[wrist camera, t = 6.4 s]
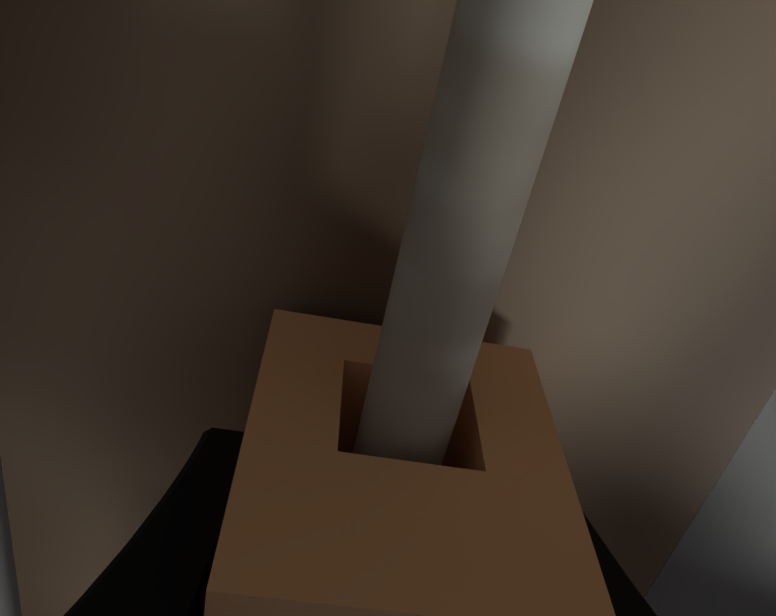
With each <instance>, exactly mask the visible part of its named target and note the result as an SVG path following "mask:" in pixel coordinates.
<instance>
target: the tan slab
mask: <svg viewBox="0 0 776 616" xmlns="http://www.w3.org/2000/svg"><path fill="white" fill-rule="evenodd" d="M274 309H278V310H284V311H290V312H297V313H303V314H309V315H316V316H322V317H328V318H335V319H341V320H347V321H354V322H360V323H366V324H373V325H379V326H382V328H381V333H380V337H379V341H378V346H377V350H376V354H375V359H374V363H373V367H372V372H371V376H370V380H369V385H368V389H367V393H366V398H365V402H364V406H363V411H362V415H361V419H360V424H359V428H358V432H357V437H356V441H355V445H354V450H353V453H354V454H361V455H368V456H375V457H383V458H390V459H397V460H405V461H412V462H419V463H427V464H434V465H441V466H442V463H443V459H444V456H445V453H446V450H447V447H448V444H449V441H450V438H451V435H452V432H453V429H454V426H455V423H456V420H457V417H458V414H459V411H460V407H461V404H462V401H463V398H464V395H465V392H466V389H467V386H468V383H469V380H470V377H471V374H472V371H473V368H474V365H475V362H476V359H477V356H478V352H479V349H480V346H481V343H482V342H486V343H493V344H499V345H505V346H511V347H518V348H524V349H530V350H531V352H532V355H533V358H534V361H535V364H536V368H537V371H538V374H539V377H540V380H541V383H542V386H543V389H544V393H545V396H546V399H547V402H548V405H549V408H550V411H551V415H552V418H553V421H554V424H555V427H556V430H557V433H558V437H559V440H560V443H561V446H562V449H563V452H564V455H565V458H566V462H567V465H568V468H569V471H570V474H571V477H572V480H573V484H574V487H575V490H576V493H577V496H578V499H579V502H580V505H581V509H582V511H583V512H584V514H585V515H586V517H587V518H588V520H589V521H590V523H591V524H592V526H593V527H594V529H595V530H596V532H597V533H598V534H599V536H600V537H601V539H602V540H603V542H604V543H605V545H606V546H607V548H608V549H609V550H610V552H611V553H612V555H613V556H614V558H615V559H616V560H617V562H618V563H619V565H620V566H621V568H622V569H623V570H624V572H625V573H626V575H627V576H628V577H629V579H630V580H631V582H632V583H633V584H634V586H635V587H636V588H637V590H638V591H639V592H640V594H641V595H642V597H643V598H644V597H645V596H646V594H647V592H648V591H649V589H650V588H651V586H652V584H653V583H654V581H655V580H656V578H657V576H658V575H659V573H660V572H661V570H662V568H663V567H664V565H665V564H666V562H667V560H668V559H669V557H670V556H671V554H672V552H673V551H674V549H675V548H676V546H677V544H678V543H679V541H680V540H681V538H682V537H683V535H684V533H685V532H686V530H687V529H688V527H689V525H690V524H691V522H692V521H693V519H694V517H695V516H696V514H697V513H698V511H699V509H700V508H701V506H702V505H703V503H704V501H705V500H706V498H707V497H708V495H709V493H710V492H711V490H712V489H713V487H714V485H715V484H716V482H717V481H718V479H719V477H720V476H721V474H722V473H723V471H724V470H725V468H726V466H727V465H728V463H729V462H730V460H731V458H732V457H733V455H734V454H735V452H736V450H737V449H738V447H739V446H740V444H741V442H742V441H743V439H744V438H745V436H746V434H747V433H748V431H749V430H750V428H751V426H752V425H753V423H754V422H755V420H756V418H757V417H758V415H759V414H760V412H761V411H762V409H763V407H764V406H765V404H766V403H767V401H768V399H769V398H770V396H771V395H772V393H773V391H774V390H775V388H776V0H0V458H1V466H2V473H3V481H4V488H5V495H6V503H7V510H8V518H9V525H10V532H11V540H12V547H13V555H14V562H15V569H16V577H17V584H18V592H19V599H20V606H21V614H22V616H64V614H65V613H66V612H67V611H68V610H69V609H70V608H71V607H72V606H73V605H74V604H75V603H76V602H77V600H78V599H79V598H80V597H81V596H82V595H83V594H84V593H85V591H86V590H87V589H88V588H89V587H90V586H91V584H92V583H93V582H94V581H95V580H96V579H97V578H98V576H99V575H100V574H101V573H102V572H103V571H104V569H105V568H106V567H107V566H108V565H109V564H110V562H111V561H112V560H113V559H114V558H115V557H116V556H117V554H118V553H119V552H120V551H121V550H122V548H123V547H124V546H125V545H126V544H127V542H128V541H129V540H130V539H131V537H132V536H133V535H134V533H135V532H136V531H137V530H138V528H139V527H140V526H141V524H142V523H143V522H144V520H145V519H146V518H147V517H148V515H149V514H150V513H151V511H152V510H153V509H154V507H155V506H156V505H157V504H158V502H159V501H160V500H161V498H162V497H163V495H164V494H165V493H166V491H167V490H168V488H169V487H170V486H171V484H172V483H173V481H174V480H175V478H176V477H177V476H178V474H179V473H180V471H181V470H182V468H183V466H184V465H185V463H186V462H187V460H188V459H189V457H190V455H191V454H192V452H193V450H194V449H195V447H196V445H197V444H198V442H199V440H200V438H201V436H202V434H203V432H205V431H206V430H208V429H210V428H212V427H213V428H220V429H227V430H234V431H242V432H245V428H246V424H247V420H248V415H249V411H250V407H251V403H252V399H253V395H254V391H255V386H256V382H257V378H258V374H259V370H260V366H261V362H262V357H263V353H264V349H265V345H266V341H267V337H268V333H269V328H270V324H271V320H272V316H273V312H274Z"/></svg>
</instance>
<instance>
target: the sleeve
mask: <svg viewBox="0 0 776 616" xmlns="http://www.w3.org/2000/svg"><path fill="white" fill-rule="evenodd" d="M381 328H382V326H379V325H373V324H366V323H360V322H354V321H347V320H341V319H335V318H328V317H322V316H316V315H309V314H303V313H297V312H290V311H284V310H278V309H274V312H273V316H272V320H271V324H270V328H269V333H268V337H267V341H266V345H265V349H264V353H263V357H262V362H261V366H260V370H259V374H258V378H257V382H256V386H255V391H254V395H253V399H252V403H251V407H250V411H249V415H248V420H247V424H246V428H245V432H244V436H243V440H242V444H241V448H240V453H239V457H238V461H237V465H236V469H235V473H234V477H233V482H232V486H231V490H230V494H229V498H228V502H227V506H226V511H225V515H224V519H223V523H222V527H221V531H220V535H219V540H218V544H217V548H216V552H215V556H214V560H213V564H212V569H211V573H210V577H209V581H208V585H207V589H206V597H205V608H204V616H616V615H615V612H614V609H613V606H612V603H611V599H610V596H609V593H608V590H607V587H606V584H605V581H604V578H603V574H602V571H601V568H600V565H599V562H598V559H597V556H596V552H595V549H594V546H593V543H592V540H591V537H590V534H589V531H588V527H587V524H586V521H585V518H584V515H583V512H582V509H581V505H580V502H579V499H578V496H577V493H576V490H575V487H574V484H573V480H572V477H571V474H570V471H569V468H568V465H567V462H566V458H565V455H564V452H563V449H562V446H561V443H560V440H559V437H558V433H557V430H556V427H555V424H554V421H553V418H552V415H551V411H550V408H549V405H548V402H547V399H546V396H545V393H544V389H543V386H542V383H541V380H540V377H539V374H538V371H537V368H536V364H535V361H534V358H533V355H532V352H531V350H530V349H524V348H518V347H511V346H505V345H499V344H493V343H486V342H482V343H481V346H480V349H479V352H478V356H477V359H476V362H475V365H474V368H473V371H472V374H471V377H470V380H469V383H468V386H467V389H466V392H465V395H464V398H463V401H462V404H461V407H460V411H459V414H458V417H457V420H456V423H455V426H454V429H453V432H452V435H451V438H450V441H449V444H448V447H447V450H446V453H445V456H444V459H443V463H442V466H441V465H434V464H427V463H419V462H412V461H405V460H397V459H390V458H383V457H375V456H368V455H361V454H354V453H353V450H354V445H355V441H356V437H357V432H358V428H359V424H360V419H361V415H362V411H363V406H364V402H365V398H366V393H367V389H368V385H369V380H370V376H371V372H372V367H373V363H374V359H375V354H376V350H377V346H378V341H379V337H380V333H381Z"/></svg>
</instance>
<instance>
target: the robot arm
mask: <svg viewBox="0 0 776 616" xmlns="http://www.w3.org/2000/svg"><path fill="white" fill-rule="evenodd" d="M243 436H244V432H242V431H234V430H227V429H220V428H213V427H212V428H210V429H208V430H206V431H205V432H203V434H202V436H201V438H200V440H199V442H198V444H197V445H196V447H195V449H194V450H193V452H192V454H191V455H190V457H189V459H188V460H187V462H186V463H185V465H184V466H183V468H182V470H181V471H180V473H179V474H178V476H177V477H176V478H175V480H174V481H173V483H172V484H171V486H170V487H169V488H168V490H167V491H166V493H165V494H164V495H163V497H162V498H161V500H160V501H159V502H158V504H157V505H156V506H155V507H154V509H153V510H152V511H151V513H150V514H149V515H148V517H147V518H146V519H145V520H144V522H143V523H142V524H141V526H140V527H139V528H138V530H137V531H136V532H135V533H134V535H133V536H132V537H131V539H130V540H129V541H128V542H127V544H126V545H125V546H124V547H123V548H122V550H121V551H120V552H119V553H118V554H117V556H116V557H115V558H114V559H113V560H112V561H111V562H110V564H109V565H108V566H107V567H106V568H105V569H104V571H103V572H102V573H101V574H100V575H99V576H98V578H97V579H96V580H95V581H94V582H93V583H92V584H91V586H90V587H89V588H88V589H87V590H86V591H85V593H84V594H83V595H82V596H81V597H80V598H79V599H78V600H77V602H76V603H75V604H74V605H73V606H72V607H71V608H70V609H69V610H68V611H67V612H66V613H65V614H64V616H204V608H205V597H206V589H207V585H208V581H209V577H210V573H211V569H212V564H213V560H214V556H215V552H216V548H217V544H218V540H219V535H220V531H221V527H222V523H223V519H224V515H225V511H226V506H227V502H228V498H229V494H230V490H231V486H232V482H233V477H234V473H235V469H236V465H237V461H238V457H239V453H240V448H241V444H242V440H243ZM582 512H583V511H582ZM583 515H584V518H585V521H586V524H587V527H588V531H589V534H590V537H591V540H592V543H593V546H594V549H595V552H596V556H597V559H598V562H599V565H600V568H601V571H602V574H603V578H604V581H605V584H606V587H607V590H608V593H609V596H610V599H611V603H612V606H613V609H614V612H615V615H616V616H657V615H656V614H655V613H654V611H653V610H652V609H651V607H650V606H649V605H648V603H647V602H646V601H645V599H644V598H643V597H642V595H641V594H640V592H639V591H638V590H637V588H636V587H635V586H634V584H633V583H632V582H631V580H630V579H629V577H628V576H627V575H626V573H625V572H624V570H623V569H622V568H621V566H620V565H619V563H618V562H617V560H616V559H615V558H614V556H613V555H612V553H611V552H610V550H609V549H608V548H607V546H606V545H605V543H604V542H603V540H602V539H601V537H600V536H599V534H598V533H597V532H596V530H595V529H594V527H593V526H592V524H591V523H590V521H589V520H588V518H587V517H586V515H585V514H584V512H583Z"/></svg>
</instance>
